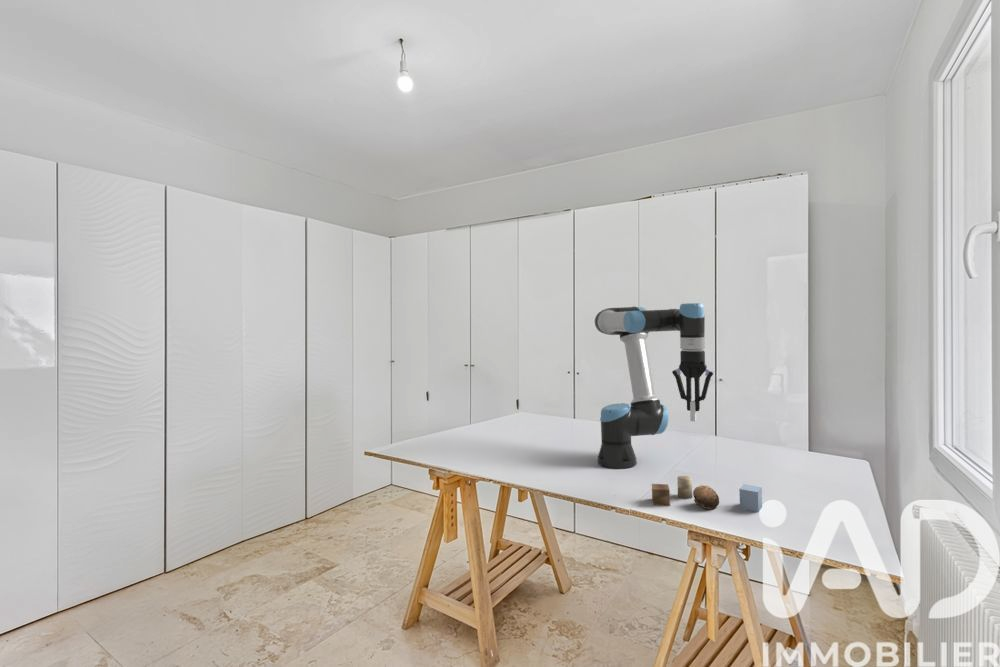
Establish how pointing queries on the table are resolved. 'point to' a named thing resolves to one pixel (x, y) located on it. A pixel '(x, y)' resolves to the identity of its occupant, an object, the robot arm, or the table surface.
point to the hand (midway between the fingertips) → (693, 420)
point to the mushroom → (706, 497)
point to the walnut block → (661, 494)
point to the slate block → (750, 498)
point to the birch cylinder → (684, 487)
